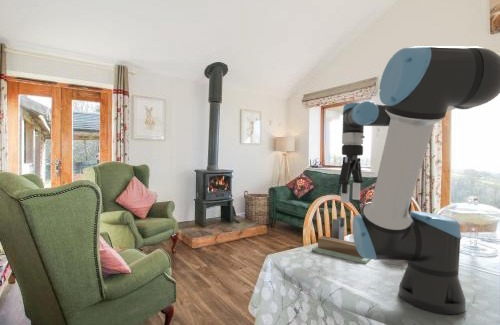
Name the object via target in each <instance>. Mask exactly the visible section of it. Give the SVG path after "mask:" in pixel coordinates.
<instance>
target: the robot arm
mask: <svg viewBox="0 0 500 325" xmlns="http://www.w3.org/2000/svg"><path fill="white" fill-rule="evenodd" d="M378 88H379V96H378V97H379V99H380V102H381V103H374V102H372V101H369V100H367V101H363V102H362V101H361V102H349V103H345V104H344V105H343V108H342V110H343V111H342V136H341V144H342V147H341V155H343V157H342V165H341V168H340V169H341V170H340V173H339V174H340V175H339V178H338V184H339V185H341V187H340V203H345V204H349V203H350V185H351V184H350V180H351V176H352V181H353V183H352V194H351V195H352V200H356V201H360V199H361V184H363V183H364V181H363V176H362V166H361V159H362V158H360V157H358V156H363V155H364V146H363V144H364V139H365V138H366V136H365V135H364V130H365V129H364V127H388V128H387V133H386V138H385V143H384V146H383V150H382V154H381V160H380V163H379V169H378V172H377V176H376V181H375V186H374V189H373V192H372V193H373V194H372V198H371V202H369V203H367V204H366V205H365V206H364V207H363V209H362V214H359V213H358V214H355V215H354V216H353V218H352V224H351V226H352V236H353V237H352V238H353V242H355V246H356V249H357V251H358V253H359V255H360V256H361V257H363V258H366V259H371V260H374V261H398V262H399V261H401V262H403V261H404V262H406V261H407V265H406V269H405V272H404V273H403V275H402V278H401V280H400V282H399V289H398V293H399V296H400V297H401V298H402V299H403V300H404V301H406V302H408V303H409V304H411V305H412V306H414V307H417V308H419V309H422V310H425V311H428V312H432V313H436V314H443V315H459V314H462V313H464V312H465V311H466V297H465V294H464V291H463V287H462V285H461V282H460V279H459V269H460V254H461V252H460V250H461V240H462V237H461V236H462V234H461V224H459V223H460V222H458V221H456V220H455V219H453V218H450V217H446V216H443V215H440V214H435V213H432V212H431V213H430V212H425V211H420V210H419V211H418V210H411V211H409V208H410V205H411V202H412V198H413V195H414V191H415V189H416V186H417V182H418V178H419V177H420V176H419V175H420V172H421V169H422V165H423V161H424V158H425V157H426V156H425V155H426V152H427V148H428V145H429V142H430V138H431V135H432V131H433V128H434V125H436V124H437V123H439V122H441V121H442V120H444V119H445V117H446V114H447V112H450V111H452V110H455V109H457V110H469V109H472V108H476V107H480V106H482V105H484V104H488V103H489V102H490V101H493V100H494V99H495V98H497V96H499V94H500V54H498V53H496V52H495V51H493V50H491V49H488V48H485V47H481V46H480V47H479V46H427V45H420V46H410V47H403V48H401V49H399V50H398V51H396V52H395V53H394V54H393V55H392V57H391V58H390V59H389V60H388V61H387V63H386V65H385V68H384V70H383V72H382V75H381V79H380V83H379V87H378Z"/></svg>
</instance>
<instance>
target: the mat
mask: <svg viewBox="0 0 500 325" xmlns="http://www.w3.org/2000/svg"><path fill="white" fill-rule="evenodd" d="M311 251H312V252H316V253H319V254H325V255H327V256H331V257H337V258H340V259H345V260H348V261H353V262H357V263H360V264H365V265H367V263H369V262H370V261H371V260H372V259H366V258H360V257H355V256H351V255H347V254H343V253H338V252H334V251H330V250H326V249H321V248H318V244H317V245H316V246H314V247H312V248H311Z"/></svg>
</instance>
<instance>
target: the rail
mask: <svg viewBox="0 0 500 325" xmlns="http://www.w3.org/2000/svg"><path fill="white" fill-rule="evenodd" d="M317 245H318V248H321V249H326V250H330V251H334V252H338V253H343V254H347V255H351V256H355V257H360V258H363V257H361V256H360V255H359V253H358V251H357V249H356V246H355V242H354V241H349V240H345V239H344V240H340V239H335V238H332V237H330V236H326V235H321V236H319V237H317Z"/></svg>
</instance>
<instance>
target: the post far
mask: <svg viewBox="0 0 500 325" xmlns="http://www.w3.org/2000/svg"><path fill="white" fill-rule="evenodd" d="M345 221H346V217H344V216H343V217H342V216H337V218H332V222H331V223H332V224H331V225H332V227H331V238H335V239H340V240H345V229H346V228H345V226H346V225H345V224H346V222H345Z"/></svg>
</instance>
